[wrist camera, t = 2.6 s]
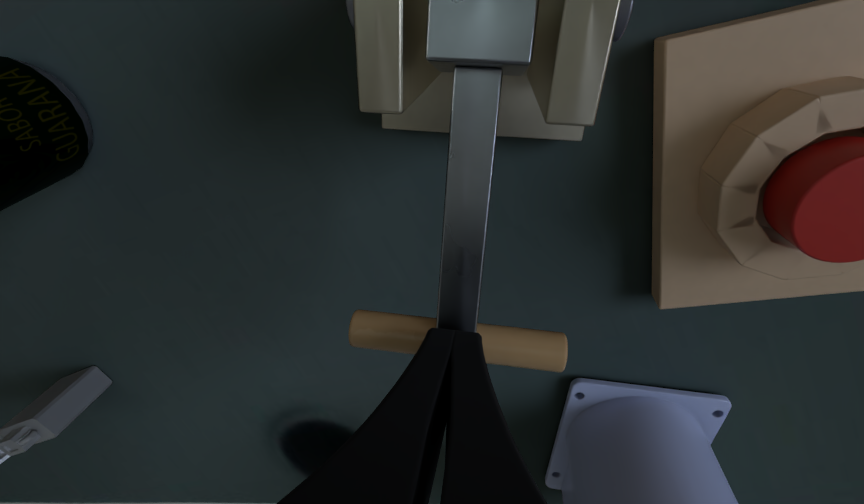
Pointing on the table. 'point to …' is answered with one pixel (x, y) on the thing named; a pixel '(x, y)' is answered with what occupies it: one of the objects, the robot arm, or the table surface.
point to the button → (821, 200)
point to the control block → (747, 149)
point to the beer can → (37, 131)
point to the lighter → (52, 411)
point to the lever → (470, 183)
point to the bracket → (520, 95)
